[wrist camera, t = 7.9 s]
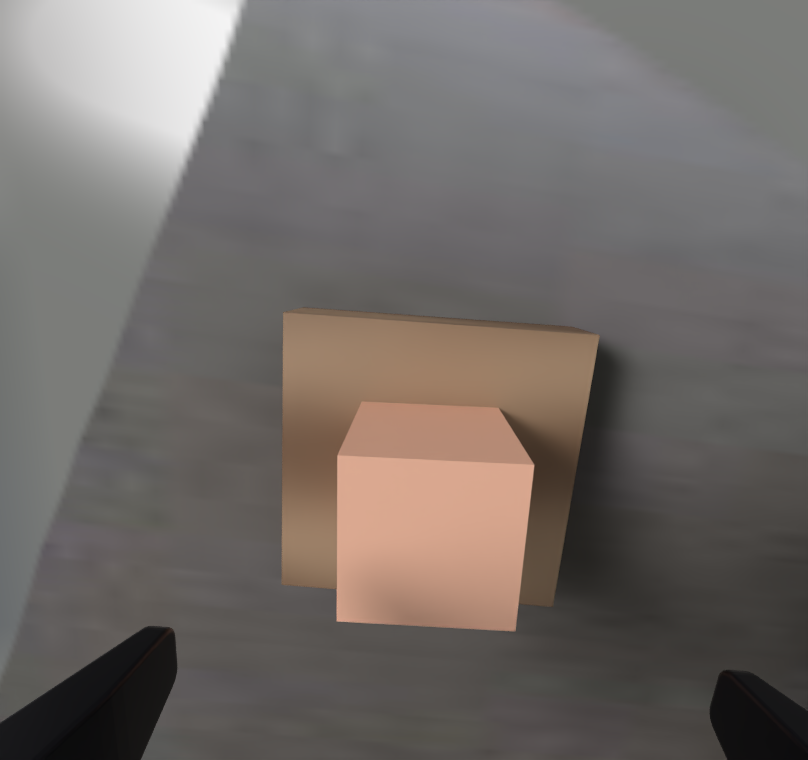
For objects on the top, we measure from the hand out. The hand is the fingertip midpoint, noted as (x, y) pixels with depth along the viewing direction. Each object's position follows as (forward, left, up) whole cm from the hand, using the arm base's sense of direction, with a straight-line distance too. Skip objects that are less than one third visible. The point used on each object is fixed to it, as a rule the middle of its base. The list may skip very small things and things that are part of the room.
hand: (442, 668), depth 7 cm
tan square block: (0, 0, -11) cm, 11 cm away
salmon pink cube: (0, 0, -8) cm, 8 cm away
